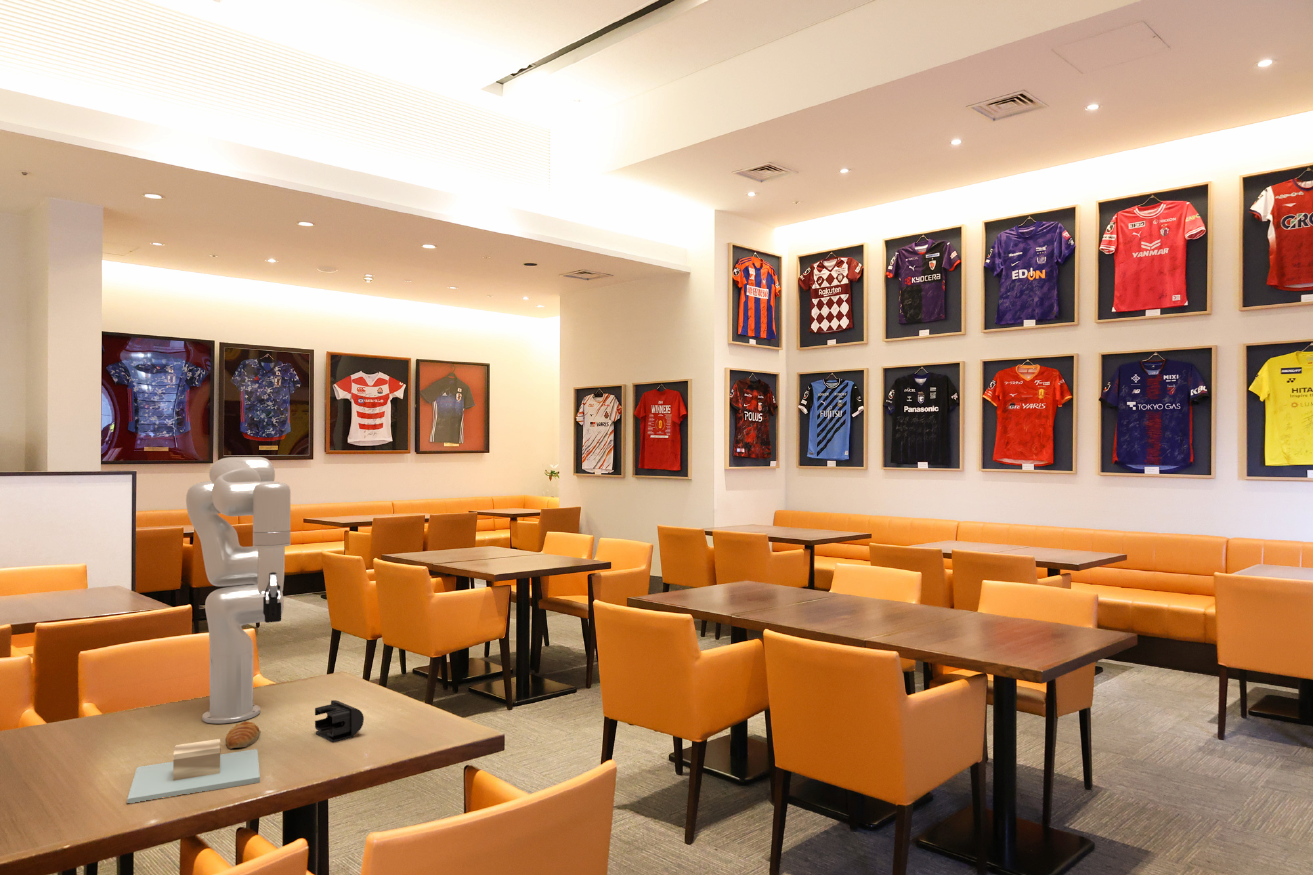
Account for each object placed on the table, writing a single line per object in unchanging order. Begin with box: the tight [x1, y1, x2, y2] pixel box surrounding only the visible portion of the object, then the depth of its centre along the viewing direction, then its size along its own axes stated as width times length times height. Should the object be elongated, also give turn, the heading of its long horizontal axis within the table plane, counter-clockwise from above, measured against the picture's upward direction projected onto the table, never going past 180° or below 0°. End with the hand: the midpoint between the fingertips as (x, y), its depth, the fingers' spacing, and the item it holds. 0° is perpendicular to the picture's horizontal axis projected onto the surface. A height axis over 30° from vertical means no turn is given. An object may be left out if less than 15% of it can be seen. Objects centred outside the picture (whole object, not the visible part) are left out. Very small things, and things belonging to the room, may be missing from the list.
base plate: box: [126, 748, 261, 804], centre depth 168 cm, size 18×22×4 cm
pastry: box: [224, 720, 262, 750], centre depth 188 cm, size 9×7×4 cm
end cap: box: [314, 699, 365, 743], centre depth 193 cm, size 10×7×7 cm
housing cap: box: [172, 738, 221, 781], centre depth 168 cm, size 6×8×5 cm
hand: (272, 617), depth 184 cm, fingers open, 9 cm apart
